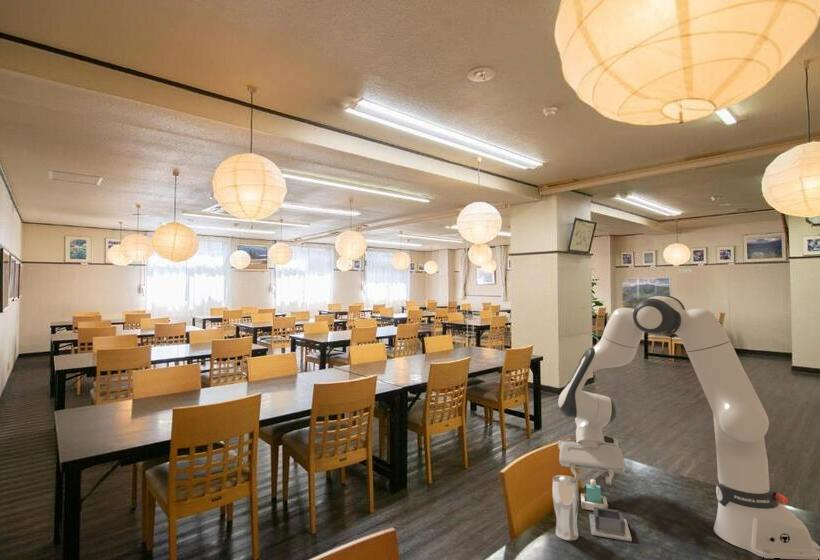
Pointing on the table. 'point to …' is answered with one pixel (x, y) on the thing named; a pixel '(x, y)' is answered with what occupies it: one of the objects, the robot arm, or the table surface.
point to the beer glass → (566, 506)
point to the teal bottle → (593, 492)
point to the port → (609, 524)
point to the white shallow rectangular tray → (591, 505)
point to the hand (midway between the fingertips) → (592, 481)
